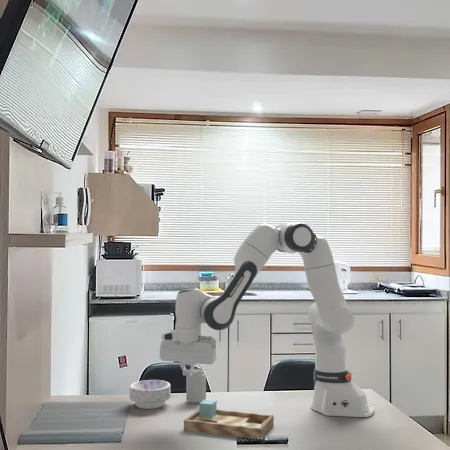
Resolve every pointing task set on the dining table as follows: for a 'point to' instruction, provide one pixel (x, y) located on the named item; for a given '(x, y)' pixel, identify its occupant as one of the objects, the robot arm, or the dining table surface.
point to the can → (196, 386)
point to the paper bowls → (150, 393)
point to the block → (207, 408)
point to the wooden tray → (231, 424)
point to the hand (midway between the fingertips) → (187, 375)
